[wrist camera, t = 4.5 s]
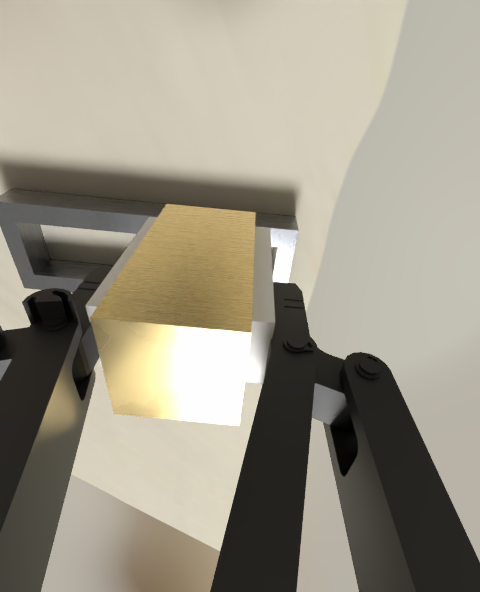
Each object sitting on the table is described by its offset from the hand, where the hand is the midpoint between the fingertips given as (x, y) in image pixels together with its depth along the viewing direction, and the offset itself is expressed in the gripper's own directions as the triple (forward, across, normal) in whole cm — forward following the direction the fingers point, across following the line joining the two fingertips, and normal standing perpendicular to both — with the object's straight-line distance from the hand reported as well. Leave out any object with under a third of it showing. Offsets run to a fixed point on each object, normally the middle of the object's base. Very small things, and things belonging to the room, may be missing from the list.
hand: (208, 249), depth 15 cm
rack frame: (+15, -7, -8) cm, 19 cm away
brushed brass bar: (0, 0, 0) cm, 0 cm away
